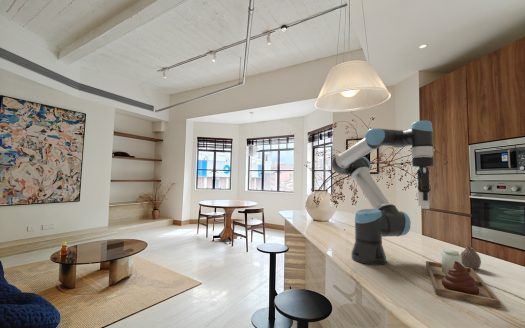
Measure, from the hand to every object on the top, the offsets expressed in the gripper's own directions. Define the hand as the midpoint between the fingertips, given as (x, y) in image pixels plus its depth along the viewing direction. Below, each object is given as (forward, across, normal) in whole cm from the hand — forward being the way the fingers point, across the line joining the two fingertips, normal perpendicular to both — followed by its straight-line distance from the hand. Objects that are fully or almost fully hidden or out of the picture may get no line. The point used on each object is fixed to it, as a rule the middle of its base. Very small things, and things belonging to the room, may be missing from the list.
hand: (423, 207), depth 100 cm
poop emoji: (+26, -14, -9) cm, 31 cm away
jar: (+26, +2, -9) cm, 28 cm away
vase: (+27, +17, -18) cm, 37 cm away
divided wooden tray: (+27, -6, -9) cm, 29 cm away
